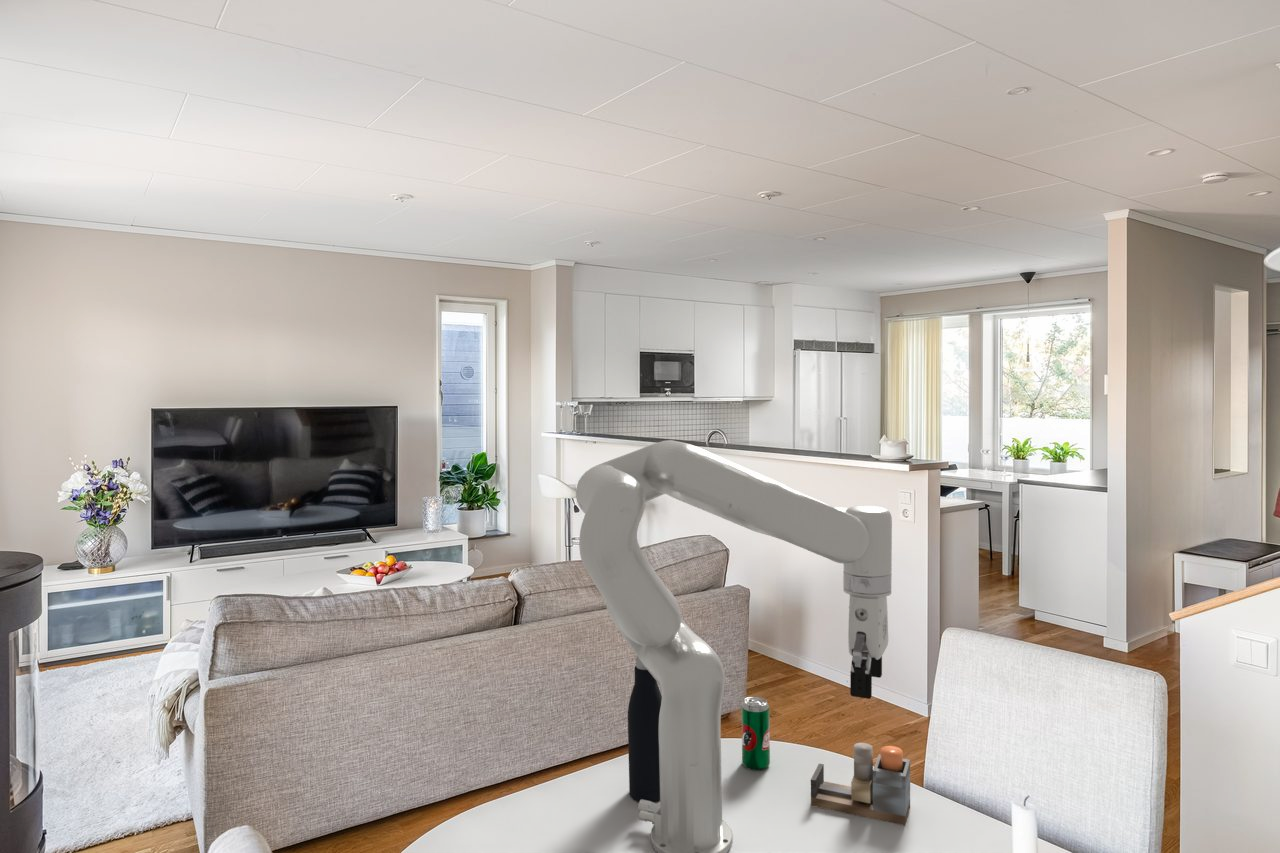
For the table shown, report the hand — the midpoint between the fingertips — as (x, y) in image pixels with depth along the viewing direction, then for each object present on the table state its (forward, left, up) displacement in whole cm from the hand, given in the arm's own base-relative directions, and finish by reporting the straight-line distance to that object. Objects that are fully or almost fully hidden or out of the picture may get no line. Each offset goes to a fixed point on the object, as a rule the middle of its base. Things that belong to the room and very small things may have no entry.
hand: (866, 686), depth 132 cm
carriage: (0, 0, -18) cm, 18 cm away
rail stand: (-1, 0, -20) cm, 20 cm away
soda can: (-21, +7, -21) cm, 30 cm away
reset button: (+4, 0, -13) cm, 13 cm away
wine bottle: (-35, -10, -21) cm, 42 cm away
